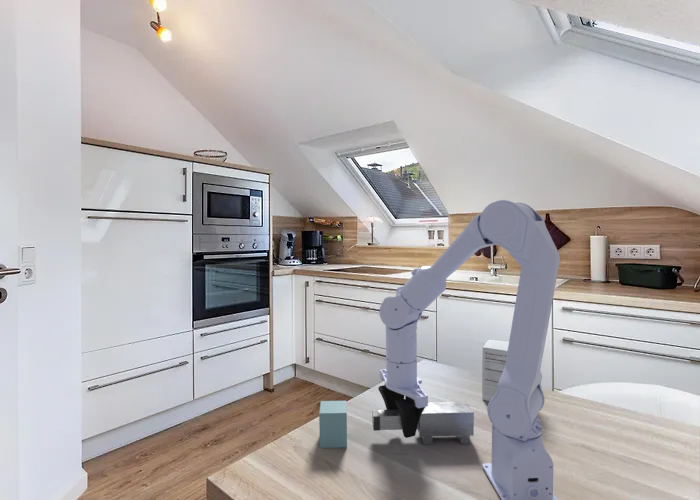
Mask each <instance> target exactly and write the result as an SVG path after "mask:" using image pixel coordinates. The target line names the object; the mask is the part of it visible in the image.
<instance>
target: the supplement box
mask: <svg viewBox="0 0 700 500" xmlns="http://www.w3.org/2000/svg"><path fill="white" fill-rule="evenodd" d="M508 345H509V341H504V340H497V339H488V340H487V341H486V342H485V344H484V345H483V346H482V360H481V361H482V367H481V368H482V369H481V372H482V373H481V374H482V375H481V379H482V380H481V381H482V382H481V384H482V385H481V386H482V387H481V392H482V396H481V399H482V400H483V401H487V402H489V401H490V400H491V399H492V398H493V397H494V395H495V394H496V392H497V388H498V383H499V380H500V378H501V375H502V373H503V370H504V368H505V363H506V357H507V351H508Z"/></svg>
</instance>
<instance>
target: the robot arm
mask: <svg viewBox="0 0 700 500" xmlns="http://www.w3.org/2000/svg"><path fill="white" fill-rule="evenodd" d="M495 245H496V246H499V247H501V249H504V250H505V251H507V252H508V254H509V255H510V256H511V258H513V259H514V260H515V261H516V262H517V263H518V265H519V266H520V273H519V279H518V286H517V292H516V299H515V303H514V310H513V316H512V322H511V328H510V334H509V340H508V342H509V345H508V351H507V357H506V363H505V368H504V370H503V373H502V375H501V378H500V380H499V383H498V388H497V392H496V394H495V395H494V397H493V398H492V399H491V400H490V401H488V404H487V410H486V411H487V416H488V419H489V421H490V423H491V462H486V463H482V464H481V466H482V468H483V471H484V472H485V474H486V476H487V477H488V479H489V481H490V483H491V484H492V486H493V488H494V489H495V491H496V493H497V494H498V497H499V498H500V499H501V500H559V499H558V498H557V496H556V495H555V494H554V493H553V491H554V462H553V459H552V456H550V454H549V453H548V451H547V449H546V447H545V445H544V441H543V426H542V423H541V421H540V419H539V417H538V414H539V412H540V411H541V410H542V409H543V408H544V405H545V399H546V398H545V395H544V394H545V393H544V391H543V389H542V379H543V375H542V372H541V368H542V362H543V357H544V350H545V345H546V341H547V339H546V338H547V334H548V330H549V329H548V328H549V323H550V318H551V313H552V307H553V301H554V295H555V290H556V289H555V288H556V283H557V279H558V273H559V269H560V262H561V260H560V259H561V258H560V256H561V255H560V253H559V250H558V249H557V246H556V244H555V242H554V241H553V238H552V236H551V234H550V232H549V230H548V228H547V226H546V222H545V218H544V217H543V216H542V215H540V213H538V212H537V211H536V210H535V209H534V208H533V207H532V206H531V205H528V204H526V203H523V202H514V201H511V200H507V199H501V200H500V199H499V200H496V201H493V202H492V201H491V203H489V204H488V205H487V206H485V208H483V211H482V212H481V213H478V214H477V215H475V216H474V217H473V218H472V219H471V221H470V222H469V223H468V224H467V226H466V227H465V228H464V229H463V230H462V231H461V232H460V234H459V235H458V236H457V237H456V238H455V239H454V240H453V242H452V243H451V244H450V245H449V246H448V247H447V248H446V249H445V251H444V252H443V253H442V254H441V255H440V256H439V257H438V259H436V261H435V262H434V263H433V264H432V265H431V266H430V265H429V266H428V265H423V266H421V267H420V268H419V267H416V268H413V270H412V271H411V272H410V273H411V275H412V276H411V277H410V278H409V279H408V281H406V282H405V283H404V284H403V285H402V286H399V287H397V288H396V289H395V292H396V293H395V295H394V296H393V295H392V296H387V297H385V298H384V299H383V301H382V303H381V304H380V307H379V317H380V320H381V322H382V323H383V324H384V326H385V355H386V356H385V363H386V367H385V368H384V369H379V379H380V380H381V382H384V385H379V386H378V391H379V393H380V395H381V397H382V400H383V402H384V405H385V410H399V412H400V416H401V421H402V435H403V437H404V438H405V439H408V438H412V437H416V433H417V431H418V430H417V426H418V422H419V419H420V416H421V414H422V412H423V410H424V409H425V407H427V406H428V402H429V397H428V394H426V393H425V392H424V390H423V388H422V387H421V384H423V379H422V378H420V377H418V359H417V357H418V352H417V351H418V350H417V347H418V346H417V341H418V340H417V337H418V335H417V334H418V333H417V329H418V327H417V326H418V322H419V320H420V319H421V318H422V315H423V312H424V311H425V310H426V309H427V308H428V307H429V306H430V305H431V304H432V303H433V302H435V300H436V299H437V298H439V296H441V295H442V294H443V293H444V292H445V291H446V289H447V278H449V277H450V276H451V275H452V274H453V273H455V272H456V271H457V270H458V269H459V268H460V267H461V266H463V264H464V263H466V262H467V261H468V260H469V259H470V258H471V257H472V256H474V254H476V253H477V252H478V251H479V250H481V249H484V248H487V247H492V246H495Z"/></svg>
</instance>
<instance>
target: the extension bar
mask: <svg viewBox="0 0 700 500" xmlns="http://www.w3.org/2000/svg"><path fill="white" fill-rule="evenodd" d="M371 412H372V417H371V418H372V421H371V422H372V429H373V431H377V432H378V431H397V430H399V431H400V430H402V421H401V416H400V412H399V410H387V409H372V410H371ZM417 429H419V422H418V426H417Z"/></svg>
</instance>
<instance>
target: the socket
mask: <svg viewBox="0 0 700 500" xmlns="http://www.w3.org/2000/svg"><path fill="white" fill-rule="evenodd" d="M347 410H348V409H347V400H320V404H319V413H318V416H319V417H318V418H319V419H318V421H319V424H318V425H319V448H320V449H325V448H329V449H331V448H348V420H347V415H348V413H347V412H348V411H347Z"/></svg>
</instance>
